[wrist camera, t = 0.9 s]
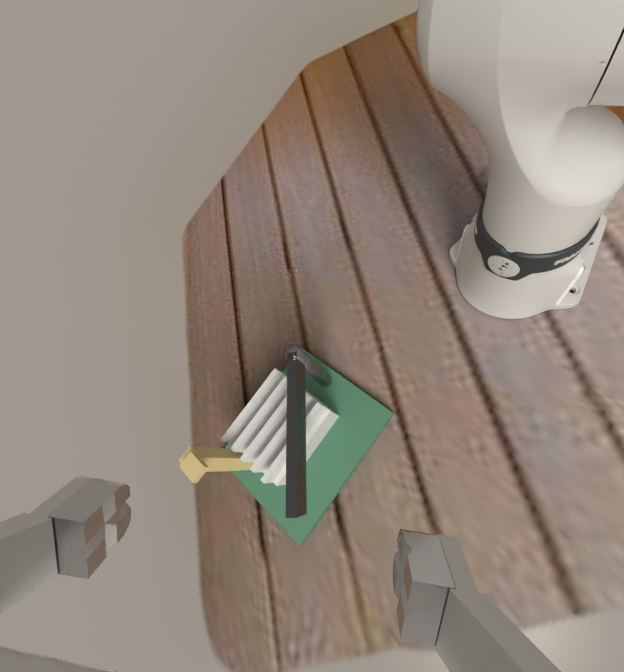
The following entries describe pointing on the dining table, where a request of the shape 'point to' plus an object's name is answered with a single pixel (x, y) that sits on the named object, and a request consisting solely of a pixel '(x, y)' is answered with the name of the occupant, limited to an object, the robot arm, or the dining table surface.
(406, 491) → the dining table surface
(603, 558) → the dining table surface
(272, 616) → the dining table surface
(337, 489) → the board
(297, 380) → the retention bar
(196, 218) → the dining table surface
